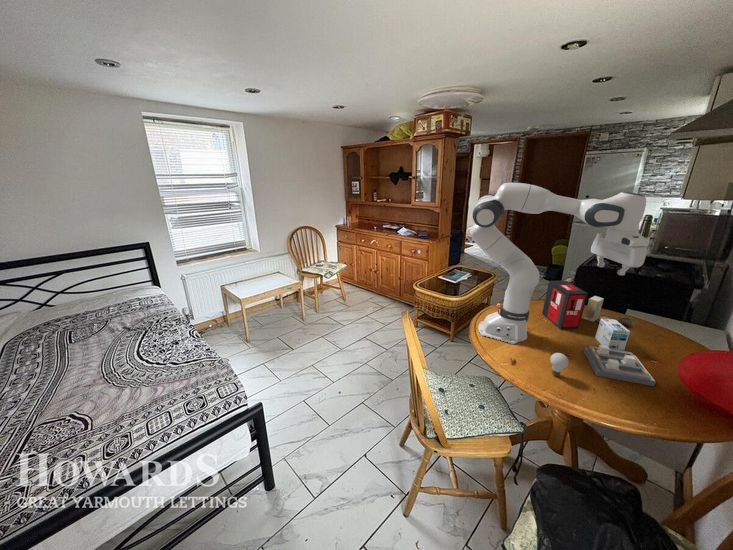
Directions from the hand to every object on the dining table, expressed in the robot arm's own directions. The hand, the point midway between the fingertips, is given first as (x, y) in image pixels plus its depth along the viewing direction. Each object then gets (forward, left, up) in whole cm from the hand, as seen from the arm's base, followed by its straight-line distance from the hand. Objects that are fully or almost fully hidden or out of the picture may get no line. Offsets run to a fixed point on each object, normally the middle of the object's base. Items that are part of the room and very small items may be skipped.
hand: (610, 270), depth 113 cm
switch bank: (+8, -8, -39) cm, 40 cm away
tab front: (+5, -13, -37) cm, 39 cm away
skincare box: (+11, +35, -39) cm, 53 cm away
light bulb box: (+11, +10, -39) cm, 42 cm away
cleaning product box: (-5, +27, -39) cm, 48 cm away
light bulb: (-16, -21, -39) cm, 47 cm away
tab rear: (+5, -3, -37) cm, 37 cm away
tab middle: (+12, -8, -37) cm, 39 cm away
